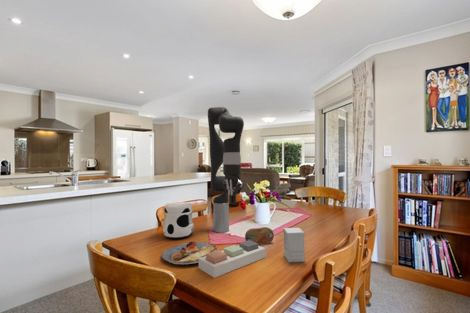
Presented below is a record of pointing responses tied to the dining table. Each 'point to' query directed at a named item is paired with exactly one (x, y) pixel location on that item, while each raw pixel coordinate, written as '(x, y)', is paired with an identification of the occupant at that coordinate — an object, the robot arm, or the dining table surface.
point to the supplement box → (294, 245)
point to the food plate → (188, 252)
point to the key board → (231, 262)
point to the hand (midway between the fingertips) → (232, 203)
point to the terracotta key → (216, 256)
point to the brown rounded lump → (260, 235)
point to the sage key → (233, 251)
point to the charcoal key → (248, 245)
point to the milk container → (178, 220)
